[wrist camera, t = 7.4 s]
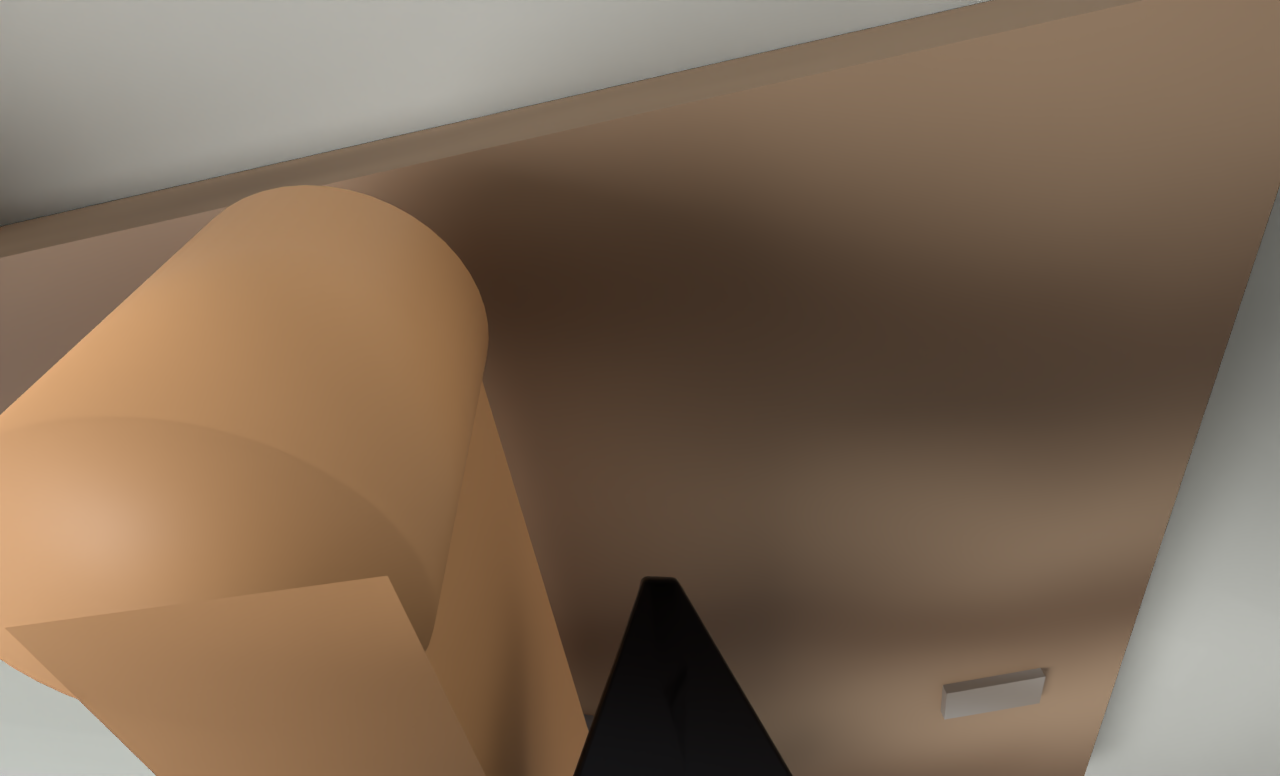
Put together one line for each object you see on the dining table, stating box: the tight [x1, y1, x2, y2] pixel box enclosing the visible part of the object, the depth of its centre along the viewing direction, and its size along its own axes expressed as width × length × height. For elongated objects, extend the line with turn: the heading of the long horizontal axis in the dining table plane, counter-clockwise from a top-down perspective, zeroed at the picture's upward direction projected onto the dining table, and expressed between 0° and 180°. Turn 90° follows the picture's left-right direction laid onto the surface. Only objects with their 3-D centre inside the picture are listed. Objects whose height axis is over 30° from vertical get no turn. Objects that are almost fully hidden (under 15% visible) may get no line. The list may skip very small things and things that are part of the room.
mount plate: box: [0, 0, 1280, 776], centre depth 14 cm, size 20×18×3 cm
